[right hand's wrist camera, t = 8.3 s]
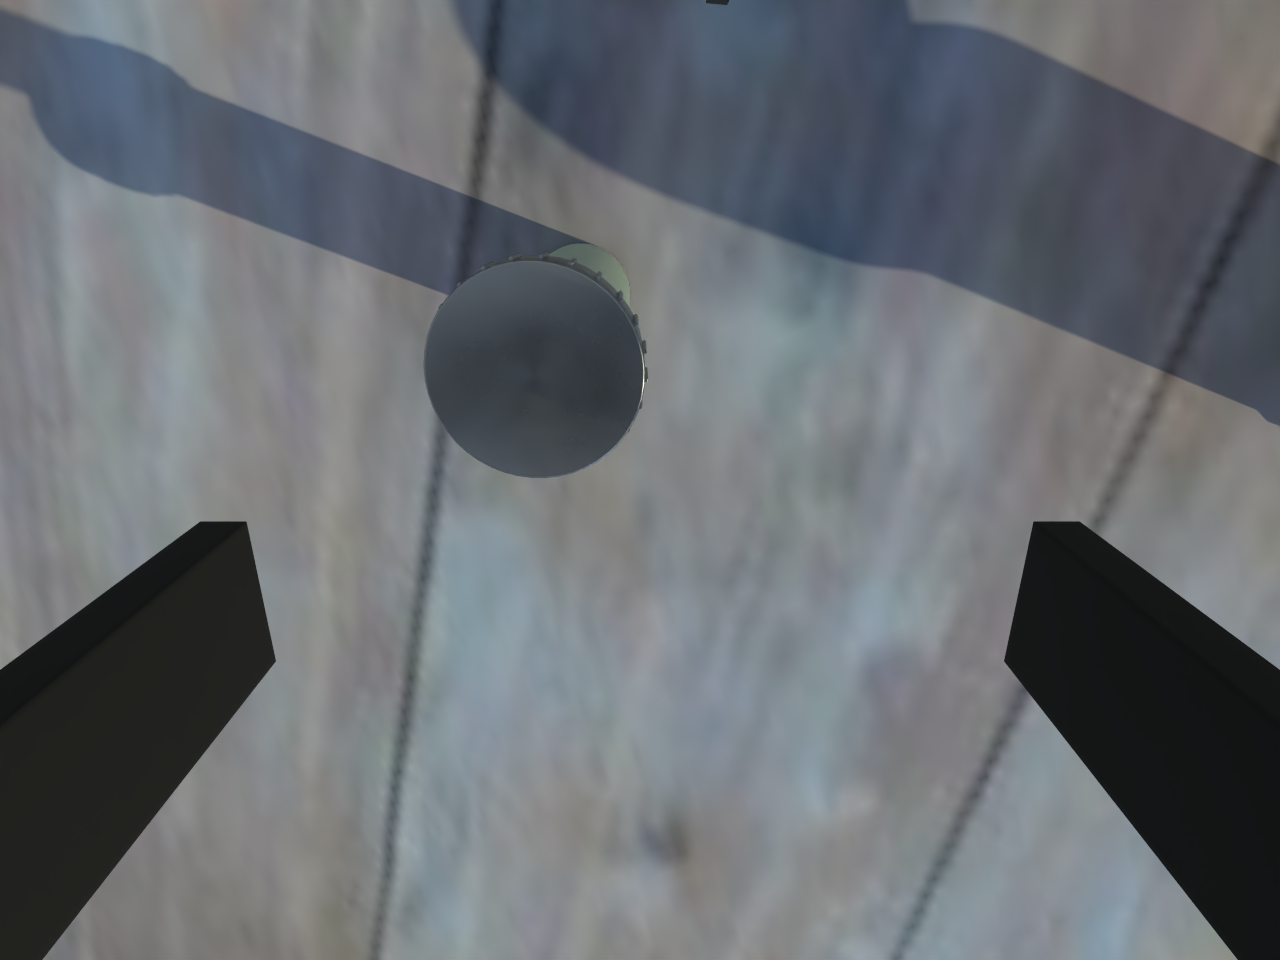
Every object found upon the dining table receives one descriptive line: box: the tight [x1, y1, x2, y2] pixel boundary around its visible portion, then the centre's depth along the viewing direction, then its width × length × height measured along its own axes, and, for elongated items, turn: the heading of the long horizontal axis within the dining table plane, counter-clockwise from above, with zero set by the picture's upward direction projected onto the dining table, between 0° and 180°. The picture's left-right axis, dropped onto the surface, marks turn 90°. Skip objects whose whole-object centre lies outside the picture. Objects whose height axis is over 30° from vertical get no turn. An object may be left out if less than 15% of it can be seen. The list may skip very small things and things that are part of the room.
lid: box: [424, 252, 648, 478], centre depth 18 cm, size 5×5×2 cm
